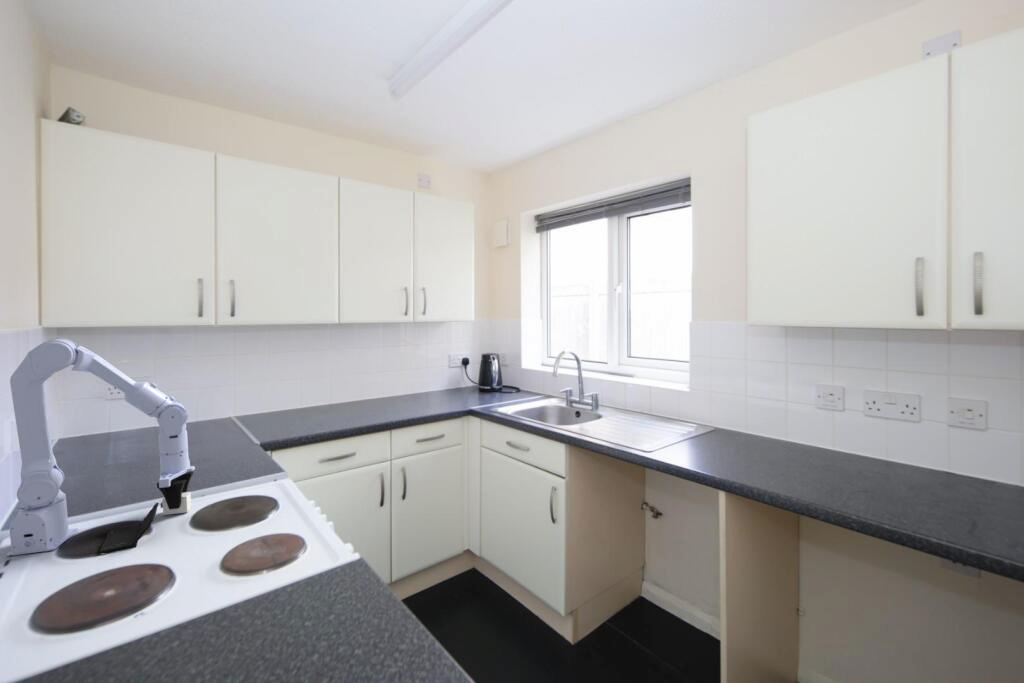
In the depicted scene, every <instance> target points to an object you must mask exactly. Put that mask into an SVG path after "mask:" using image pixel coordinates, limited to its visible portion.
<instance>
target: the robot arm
mask: <svg viewBox="0 0 1024 683" xmlns="http://www.w3.org/2000/svg"><path fill="white" fill-rule="evenodd" d="M69 366H73V367H72V369H71V371H76V372H87V373H91V374H92V375H94V376H96V377H98V378H99V379H101V380H102V381H104V382H106V383H107V384H109V385H111V386H112V387H115V389H116V390H119V391H121V392H123V393H124V401H125V402H127V403H128V404H129V405H131V406H133V407H134V408H136V410H137V409H138V410H139V411H140V412H142V413H143V414H145V415H147V416H149V418H156V421H157V424H158V425H159V434H158V448H159V463H160V464H159V465H160V471H159V479H158V482H157V483H156V487H157V489H158V490H159V491H160V493H161V494H162V495H163V498H164V497H165V500H166V502H167V505H168V507H169V509H178V508H180V505H181V498H182V493H184V492H188V490H189V489H188V487H189V484H190V482H191V479H192V476H193V474H194V470H196V467H195V466H194V465H191V461H190V457H189V442H188V441H189V440H188V431H187V423H186V422H187V421H188V416H189V415H188V414H187V411H186V409H185V406H184V405H183V404H182V403H181V402H180V401H178V400H176V399H175V397H174V396H172V395H171V396H168V395H167V394H165V393H164V392H163V391H161V390H160V389H158V385H157V384H156V383H154V382H151V383H149V382H147V381H135V380H133V379H132V378H131V377H129V376H128V375H127V374H125V373H124V372H122V371H121V370H119V369H118V368H116V366H114V365H113V364H111V363H110V362H108V361H107V360H105V358H103V357H101V356H100V355H99V354H97V353H95V352H93V351H92V350H90V349H88V348H86V347H84V346H82V345H79V346H78V344H77V343H76V342H75V341H73V340H72V339H69V338H66V337H54V338H52V339H49V340H48V341H47V340H46V341H44V342H42V343H40V344H39V345H37V346H36V347H34V348H33V349H31V350H29V351H28V352H27V354H26V355H25V358H24V359H23V360H22V361H21V363H20V364H19V365H18V366H17V368H16V369H15V370H14V372H13V373H12V374H11V376H10V377H9V378H10V379H9V384H10V391H11V397H12V403H13V412H14V417H15V423H16V430H17V437H18V445H19V451H20V458H21V469H20V485H19V487H18V488H17V491H16V498H17V500H18V502H19V503H18V512H17V514H16V516H15V517H14V518H13V519H12V520H11V522H10V524H9V537H10V539H9V540H10V547H11V549H10V551H8V552H7V553H6V555H5V556H7V557H10V555H12V556H17V555H18V556H19V555H26V554H33V553H40V552H48V551H54V550H56V549H57V548H58V547H59V546H60V545H62V544H63V543H64V542H65V541H67V540H68V539H70V537H71V536H73V535H74V534H75V533H77V532H78V531H79V528H78V527H77V528H69V517H68V516H69V515H68V507H67V506H68V505H67V494H66V493H65V492H63V491H62V490H61V489H60V488H61V486H62V485H63V483H64V481H65V474H64V472H63V470H62V469H61V468H59V466H58V464H57V459H56V457H55V455H54V451H53V450H54V449H53V445H52V437H51V430H50V429H51V428H50V423H49V422H50V421H49V416H48V409H47V401H46V396H45V395H46V394H45V388H44V383H45V382H46V381H47V380H49V378H51V377H53V375H54V374H56V373H59V372H60V371H62V370H64V369H67V368H68V367H69Z"/></svg>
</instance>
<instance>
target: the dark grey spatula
mask: <svg viewBox="0 0 1024 683" xmlns="http://www.w3.org/2000/svg"><path fill="white" fill-rule="evenodd" d="M159 505H160V504H159V502H156V503H154V505H153V507H152V508H151V509H150V510H149V512H148V513H147V514H146V515H145V517H144V518H143V520H141V522H139V523H138V524H135V525H130V526H125V527H119V528H115V529H110V530H109V531H108V533H107V535H106V537H105V538H104V542H103V543H102V545H101V548H100V550H99V554H100V553H107V554H110V553H111V554H112V553H115V552H116V553H117V552H121V551H125V550H129V549H134V548H137V546H138V542H139V541H140V539H141V538H142V537H143V536H144V534H145V532H146V531H147V530H148V529H149V527H150V526H151V525H152V524H153V522H154V520H155V517H156V513H157V509H158V506H159Z"/></svg>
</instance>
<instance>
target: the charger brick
mask: <svg viewBox="0 0 1024 683" xmlns="http://www.w3.org/2000/svg"><path fill="white" fill-rule="evenodd" d="M191 493H192V492H191V491H187V492H184V493H182V498H181V505H180V508H178V509H169V507H168V505H167V502H166V500H165V497H164V496H163V498H162V502H161V503H160V504H159V505H160V509H162V513H163V516H166V515H167V516H168V515H175V514H184V513H188V512H189V511H190V510H191V508H192V495H191Z"/></svg>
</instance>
